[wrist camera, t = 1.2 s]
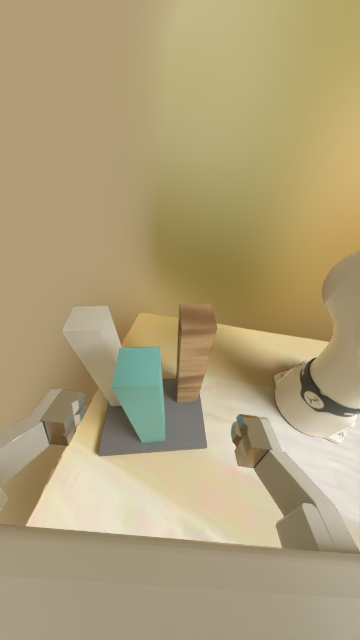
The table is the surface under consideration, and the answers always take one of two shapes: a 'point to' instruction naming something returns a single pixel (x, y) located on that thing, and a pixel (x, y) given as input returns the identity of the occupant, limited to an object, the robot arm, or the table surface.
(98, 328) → the cream post
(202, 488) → the table surface
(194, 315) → the walnut post
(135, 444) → the board
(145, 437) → the teal post
